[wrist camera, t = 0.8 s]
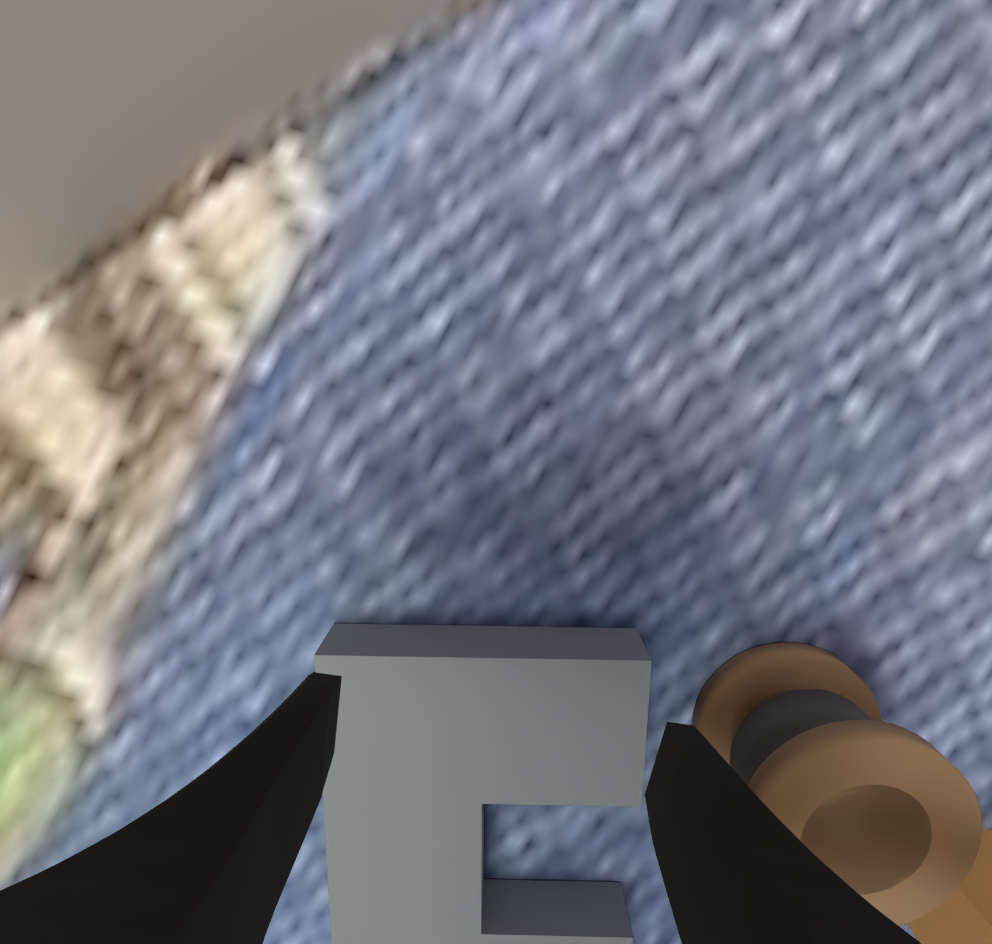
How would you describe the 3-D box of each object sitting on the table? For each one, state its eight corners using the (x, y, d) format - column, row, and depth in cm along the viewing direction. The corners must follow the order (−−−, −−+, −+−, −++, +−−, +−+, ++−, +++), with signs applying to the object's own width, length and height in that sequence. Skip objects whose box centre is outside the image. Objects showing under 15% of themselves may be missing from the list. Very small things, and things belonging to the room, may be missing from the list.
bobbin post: (854, 796, 25) (961, 936, 19) (686, 793, 25) (741, 931, 19) (877, 643, 23) (1001, 742, 18) (699, 640, 24) (762, 738, 18)
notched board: (614, 991, 27) (624, 1055, 25) (353, 985, 27) (337, 1047, 25) (636, 627, 24) (651, 660, 21) (334, 623, 24) (314, 655, 21)
